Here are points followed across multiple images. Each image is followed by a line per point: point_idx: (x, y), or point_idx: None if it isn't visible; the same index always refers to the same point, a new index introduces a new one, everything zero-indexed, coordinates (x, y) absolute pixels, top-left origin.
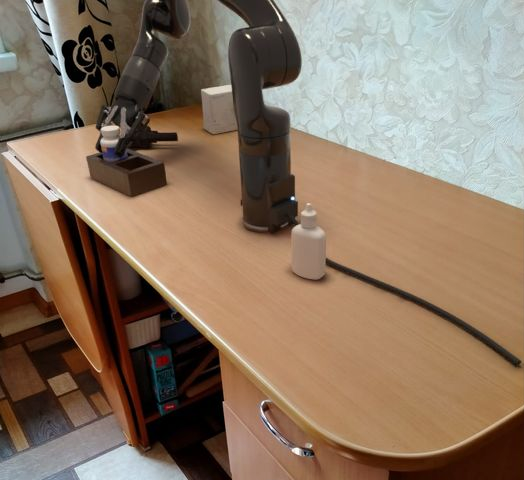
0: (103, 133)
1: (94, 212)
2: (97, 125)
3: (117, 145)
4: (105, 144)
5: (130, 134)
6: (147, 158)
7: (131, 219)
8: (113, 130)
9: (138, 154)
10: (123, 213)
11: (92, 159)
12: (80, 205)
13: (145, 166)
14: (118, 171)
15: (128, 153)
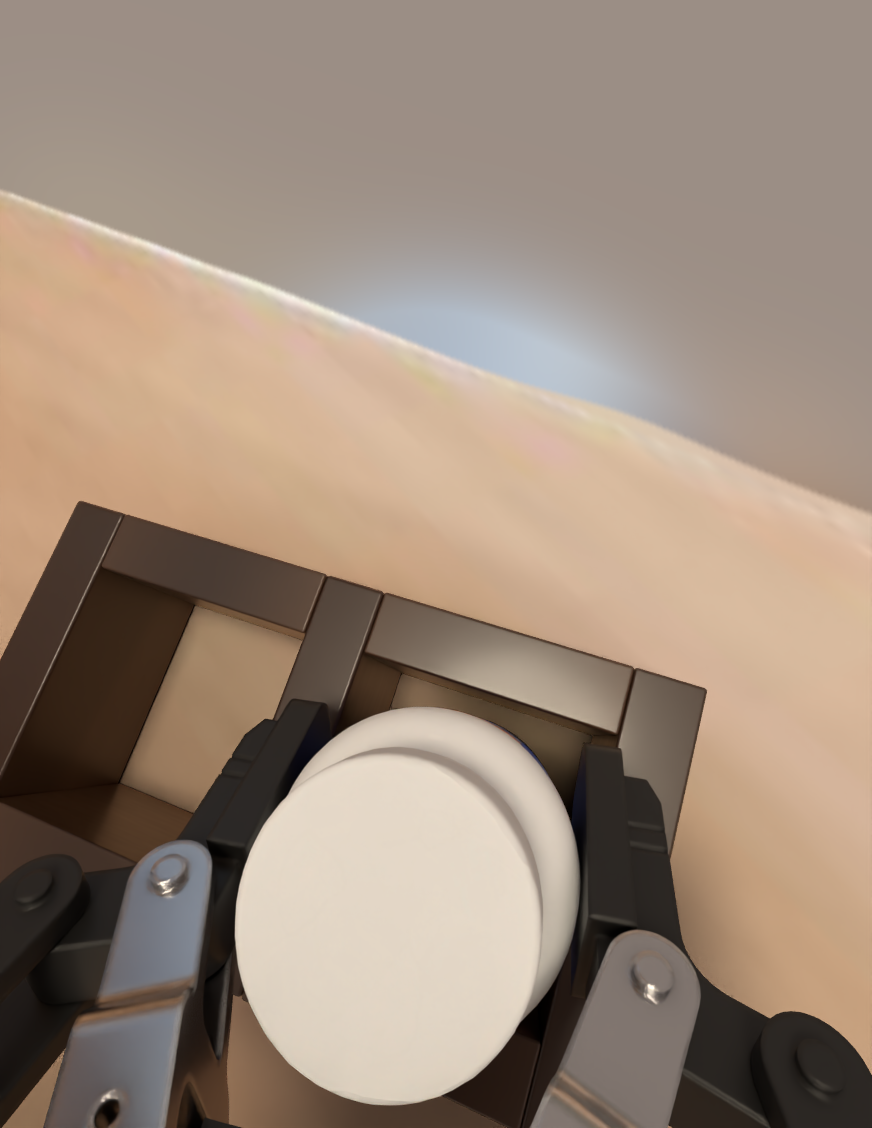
0: (423, 754)
1: (256, 327)
2: (827, 1083)
3: (270, 758)
4: (406, 708)
5: (25, 878)
6: None
7: (44, 354)
8: (259, 834)
9: None
10: (112, 382)
11: (578, 651)
12: (384, 350)
13: (20, 691)
14: (187, 533)
15: None
